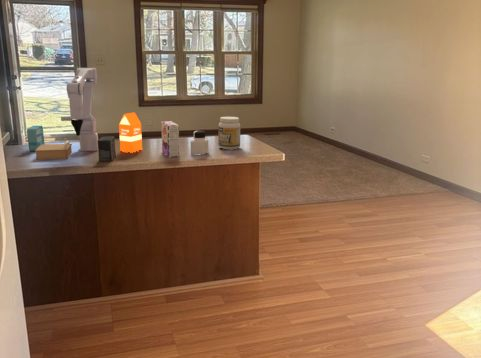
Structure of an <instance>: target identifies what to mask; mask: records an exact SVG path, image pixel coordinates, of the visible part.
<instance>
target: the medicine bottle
mask: <svg viewBox="0 0 481 358" xmlns="http://www.w3.org/2000/svg"><path fill="white" fill-rule="evenodd" d="M207 152H208V153H209V139H207V138H206V131H205V130H195V131H193V139H192V140H190V155H192V154H202V155H201V156H204V155H203V154H205V153H207ZM208 153H207V154H208ZM205 155H206V154H205Z"/></svg>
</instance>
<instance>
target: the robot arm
mask: <svg viewBox="0 0 481 358" xmlns="http://www.w3.org/2000/svg"><path fill="white" fill-rule="evenodd" d="M75 72H76V73H75V74H76V75H75V76H74V77H73V79H72V80H71V82H69V83H67V84H66V93H67V98H68V100H69V102H68V103H69V112H70V113H69V114H70V116H61V117H60V120H61V122H68V121H69V122H70V123H71V126H72V127H73V129H74V131H75V135H76V136H78V138H79V149H78V151H79V152H85V151H87V152H90V151H91V152H92V151H95V152H96V151H98V140H99V135H98V133H97V132H96V131H97V120H96V117H94V116H93V115H92V106H93V94H94V87H95V86H97V83H98V76H99V75H98V70H97V68H96V67H77V68H76V71H75Z"/></svg>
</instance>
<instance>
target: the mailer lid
mask: <svg viewBox="0 0 481 358" xmlns="http://www.w3.org/2000/svg"><path fill="white" fill-rule="evenodd" d="M72 145H73V143H71V142H70V140H66V141H65V142H64V143H53V144H52V143H51V144H50V143H48V144H45V143H44V144H41V145H40V146H39V147H38V148H37V149H36V150H35V151H34V152H35V153H36V152H43V151H68V149H69V148H70V147H71V148H72Z"/></svg>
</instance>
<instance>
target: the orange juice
mask: <svg viewBox="0 0 481 358" xmlns="http://www.w3.org/2000/svg"><path fill="white" fill-rule="evenodd" d="M118 130H119V131H118V132H119V147H120V152H121V151H122V152H123V153H128V152H130V154H133V152H134V153H136V151H137V152H140V151H139V150H141V151H143V139H142V138H143V137H142V136H143V135H142V134H143V133H142V123H141V120H139V118H138V116H137V114H136V112H128V113H124V114H123V116H122V118H121V120H120V122H119V124H118Z"/></svg>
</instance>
